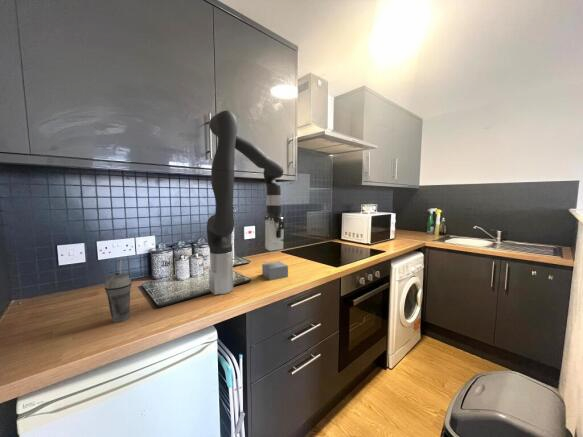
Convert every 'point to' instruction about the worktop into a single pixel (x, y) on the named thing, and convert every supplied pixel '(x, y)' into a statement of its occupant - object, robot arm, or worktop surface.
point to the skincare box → (272, 236)
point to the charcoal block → (275, 270)
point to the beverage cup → (119, 295)
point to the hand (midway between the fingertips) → (274, 236)
